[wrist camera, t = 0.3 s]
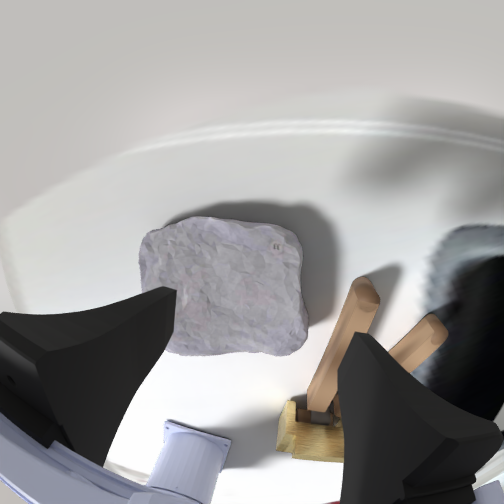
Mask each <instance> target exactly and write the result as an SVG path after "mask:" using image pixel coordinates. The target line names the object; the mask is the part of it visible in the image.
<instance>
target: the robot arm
mask: <svg viewBox="0 0 504 504" xmlns="http://www.w3.org/2000/svg"><path fill="white" fill-rule="evenodd" d="M176 297H177V290H175V289H172V288H168V287H165V286H162V287H158V288H155V289H152V290H150V291H147V292H144V293H142V294H139V295H136V296H134V297H131V298H128V299H125V300H122V301H119V302H116V303H113V304H110V305H107V306H103V307H99V308H95V309H90V310H85V311H80V312H72V313H63V314H47V315H35V314H20V313H11V312H2V313H1V314H0V480H1V481H2V482H3V483H4V484H5V485H6V486H8V487H9V488H10V489H11V490H12V491H13V492H15V493H16V494H17V495H18V496H19V497H21V498H22V499H23V500H24V501H26V502H27V503H28V504H211V500H212V496H213V493H214V489H215V485H216V482H217V478H218V474H219V473H221V471H222V469H223V466H224V463H225V460H226V457H227V454H228V451H229V448H230V445H231V440H229V439H226V438H222V437H218V436H214V435H210V434H207V433H203V432H200V431H196V430H193V429H190V428H187V427H183V426H180V425H177V424H174V423H171V422H169V421H165V422H164V446H163V448H162V450H161V452H160V455H159V457H158V459H157V461H156V464H155V466H154V468H153V470H152V472H151V475H150V477H149V479H148V481H147V484H146V485H141V484H138V483H136V482H133V481H131V480H129V479H126V478H124V477H122V476H120V475H117V474H115V473H113V472H111V471H109V470H107V469H105V468H103V465H104V463H105V460H106V457H107V454H108V451H109V449H110V446H111V444H112V442H113V439H114V437H115V434H116V432H117V430H118V427H119V425H120V423H121V421H122V419H123V417H124V414H125V412H126V410H127V408H128V406H129V404H130V402H131V400H132V399H133V397H134V395H135V393H136V391H137V390H138V388H139V387H140V385H141V384H142V382H143V381H144V379H145V378H146V376H147V375H148V374H149V372H150V371H151V369H152V368H153V366H154V365H155V364H156V362H157V361H158V359H159V358H160V356H161V355H162V353H163V352H164V350H165V348H166V346H167V344H168V343H169V340H170V338H171V336H172V334H173V332H174V321H175V308H176ZM337 390H338V398H339V405H340V412H341V419H342V426H343V433H344V468H343V481H342V490H341V497H340V504H504V493H503V490H502V487H501V485H500V482H499V480H496V481H494V482H491V483H489V484H486V485H483V486H481V487H479V488H477V489H475V490H474V491H473V488H472V484H474V483H475V482H476V477H475V473H476V472H477V471H478V470H479V469H480V468H481V467H482V466H484V465H485V464H486V463H487V462H488V461H489V460H490V459H491V458H492V457H493V456H494V455H495V454H496V453H497V451H498V450H499V448H500V447H501V445H502V442H503V435H502V433H501V431H500V430H499V428H498V426H497V424H496V423H494V422H491V421H488V420H486V419H483V418H480V417H477V416H475V415H472V414H470V413H468V412H466V411H464V410H462V409H460V408H458V407H456V406H454V405H452V404H450V403H449V402H447V401H445V400H444V399H442V398H441V397H439V396H438V395H436V394H435V393H433V392H432V391H430V390H429V389H428V388H427V387H425V386H424V385H423V384H421V383H420V382H419V381H418V380H416V379H415V378H414V377H413V376H412V375H411V374H410V373H409V372H407V371H406V370H405V369H404V368H403V367H402V366H401V365H400V364H399V363H398V362H397V361H396V360H395V359H394V358H393V357H392V356H391V355H390V354H389V353H388V352H387V351H386V350H385V349H384V348H383V347H382V346H381V345H380V344H379V343H378V342H377V341H376V340H375V339H374V338H373V337H372V336H371V335H369V334H367V333H362V332H356V331H355V332H354V335H353V337H352V339H351V341H350V344H349V346H348V348H347V350H346V353H345V355H344V357H343V359H342V361H341V363H340V365H339V367H338V369H337Z"/></svg>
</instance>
